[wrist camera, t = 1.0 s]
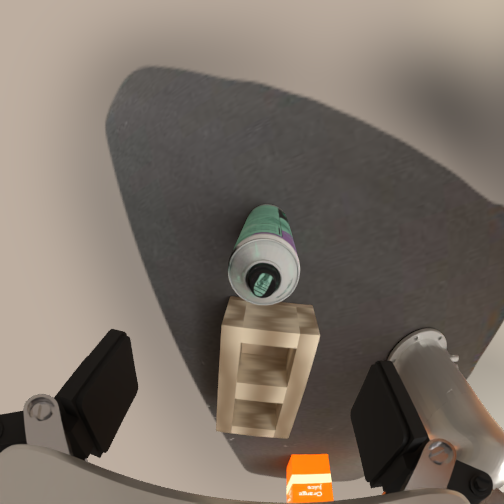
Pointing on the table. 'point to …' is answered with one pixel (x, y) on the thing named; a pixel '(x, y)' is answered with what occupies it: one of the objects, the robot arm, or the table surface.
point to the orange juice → (309, 479)
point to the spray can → (264, 258)
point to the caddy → (264, 366)
